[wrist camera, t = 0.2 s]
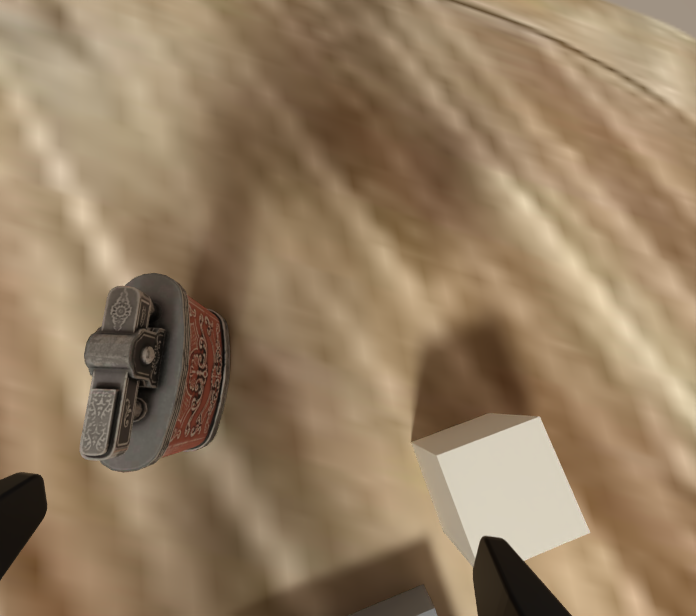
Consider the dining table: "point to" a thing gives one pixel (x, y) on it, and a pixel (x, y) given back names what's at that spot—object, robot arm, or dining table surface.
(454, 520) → the cream block
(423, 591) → the grey square slab
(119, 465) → the lighter
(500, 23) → the dining table surface
